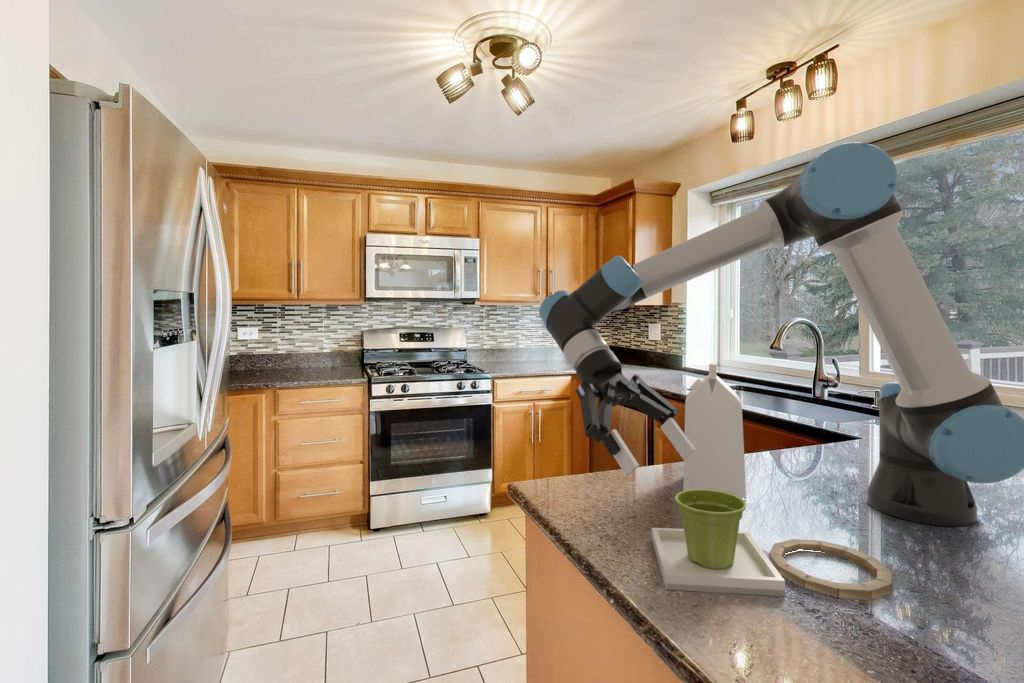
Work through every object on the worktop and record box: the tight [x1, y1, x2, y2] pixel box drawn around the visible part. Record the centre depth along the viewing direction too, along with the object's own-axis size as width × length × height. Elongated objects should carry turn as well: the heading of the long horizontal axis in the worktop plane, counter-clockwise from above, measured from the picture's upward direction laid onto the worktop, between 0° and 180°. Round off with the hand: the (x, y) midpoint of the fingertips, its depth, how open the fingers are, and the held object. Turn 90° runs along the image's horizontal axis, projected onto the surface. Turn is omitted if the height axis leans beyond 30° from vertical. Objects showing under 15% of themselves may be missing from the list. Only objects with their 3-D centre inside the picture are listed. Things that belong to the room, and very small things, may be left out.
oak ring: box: [768, 538, 893, 601], centre depth 68 cm, size 14×14×1 cm
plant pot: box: [674, 489, 747, 569], centre depth 70 cm, size 9×9×9 cm
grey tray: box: [651, 527, 786, 597], centre depth 71 cm, size 15×15×2 cm
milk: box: [682, 361, 747, 500], centre depth 102 cm, size 12×12×26 cm
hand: (662, 462), depth 76 cm, fingers open, 13 cm apart
